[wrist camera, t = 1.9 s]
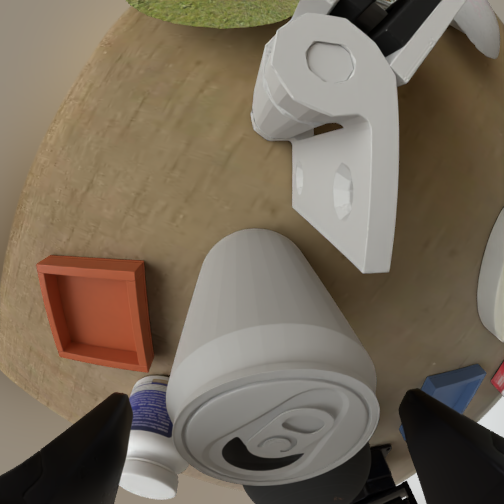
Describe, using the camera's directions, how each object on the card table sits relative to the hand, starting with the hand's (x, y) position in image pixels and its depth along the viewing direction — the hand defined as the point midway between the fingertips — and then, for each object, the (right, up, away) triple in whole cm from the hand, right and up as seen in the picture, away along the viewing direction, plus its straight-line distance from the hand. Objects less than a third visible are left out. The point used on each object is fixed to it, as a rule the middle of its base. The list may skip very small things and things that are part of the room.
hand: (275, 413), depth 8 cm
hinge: (+3, +14, +7) cm, 16 cm away
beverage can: (-1, +3, +10) cm, 11 cm away
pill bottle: (-8, -7, +13) cm, 17 cm away
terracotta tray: (-11, +1, +10) cm, 15 cm away
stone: (+13, +23, +4) cm, 27 cm away
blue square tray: (+19, -11, +16) cm, 27 cm away
